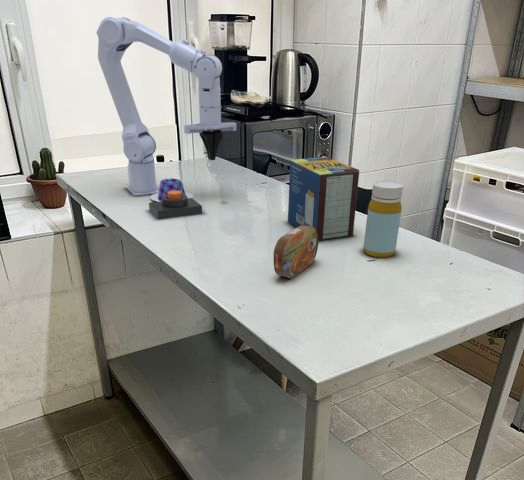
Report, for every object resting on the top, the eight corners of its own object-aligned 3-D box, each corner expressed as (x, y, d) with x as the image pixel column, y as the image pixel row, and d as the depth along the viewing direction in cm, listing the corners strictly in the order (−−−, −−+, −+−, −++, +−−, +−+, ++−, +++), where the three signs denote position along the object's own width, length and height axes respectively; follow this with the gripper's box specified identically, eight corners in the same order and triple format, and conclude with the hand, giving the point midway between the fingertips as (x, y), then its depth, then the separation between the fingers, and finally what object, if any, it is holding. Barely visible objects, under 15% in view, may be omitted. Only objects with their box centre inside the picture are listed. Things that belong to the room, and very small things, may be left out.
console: (158, 219, 138) (156, 204, 136) (149, 210, 144) (147, 195, 142) (202, 213, 142) (201, 198, 140) (191, 205, 149) (191, 191, 146)
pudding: (195, 204, 149) (194, 185, 147) (151, 206, 147) (149, 186, 145) (191, 192, 160) (190, 174, 157) (150, 194, 157) (148, 176, 155)
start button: (170, 201, 139) (169, 194, 138) (166, 197, 142) (165, 191, 141) (183, 199, 141) (183, 193, 140) (179, 196, 143) (178, 189, 142)
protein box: (322, 217, 141) (327, 156, 133) (353, 236, 129) (360, 170, 121) (286, 222, 138) (289, 159, 130) (315, 242, 126) (319, 173, 118)
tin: (283, 284, 105) (285, 243, 101) (269, 280, 106) (270, 239, 102) (318, 260, 116) (321, 221, 112) (305, 257, 117) (307, 219, 113)
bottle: (376, 260, 116) (385, 190, 109) (356, 249, 122) (364, 182, 114) (401, 255, 119) (412, 186, 111) (381, 245, 125) (390, 178, 117)
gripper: (189, 109, 138) (191, 164, 145) (240, 107, 144) (241, 160, 151) (180, 106, 144) (183, 159, 151) (230, 104, 149) (231, 155, 156)
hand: (211, 159), depth 151 cm, fingers closed
